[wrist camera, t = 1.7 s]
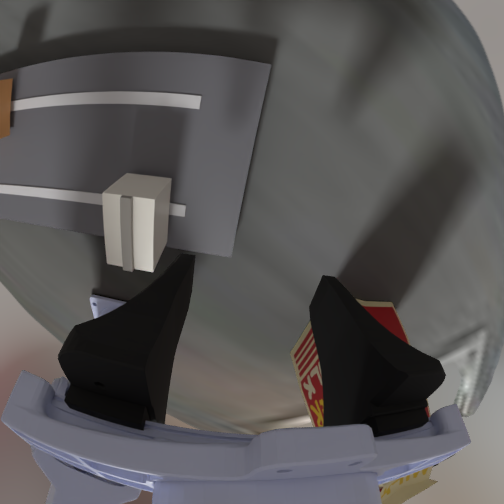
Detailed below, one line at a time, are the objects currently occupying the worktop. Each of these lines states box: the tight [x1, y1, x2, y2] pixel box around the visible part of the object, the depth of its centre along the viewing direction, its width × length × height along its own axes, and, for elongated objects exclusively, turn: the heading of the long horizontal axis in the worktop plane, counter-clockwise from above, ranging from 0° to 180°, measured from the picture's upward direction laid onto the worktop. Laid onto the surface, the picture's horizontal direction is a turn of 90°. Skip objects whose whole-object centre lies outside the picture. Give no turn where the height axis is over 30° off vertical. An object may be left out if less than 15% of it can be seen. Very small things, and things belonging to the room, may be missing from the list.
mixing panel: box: [0, 52, 271, 257], centre depth 16 cm, size 13×26×2 cm, turn 79°
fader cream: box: [102, 173, 172, 272], centre depth 15 cm, size 4×3×4 cm, turn 169°
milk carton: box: [290, 299, 437, 504], centre depth 19 cm, size 9×9×20 cm
